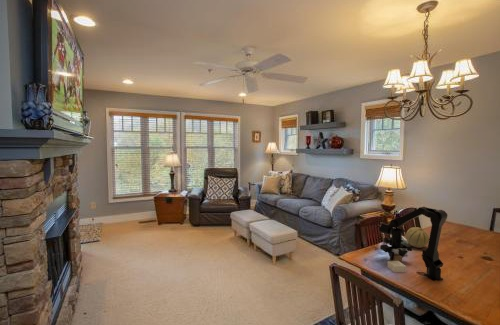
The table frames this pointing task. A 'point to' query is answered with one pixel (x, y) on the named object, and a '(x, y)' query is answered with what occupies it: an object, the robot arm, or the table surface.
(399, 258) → the walnut cube
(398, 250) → the light bulb box
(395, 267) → the cream block
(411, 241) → the cantaloupe
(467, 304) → the table surface
